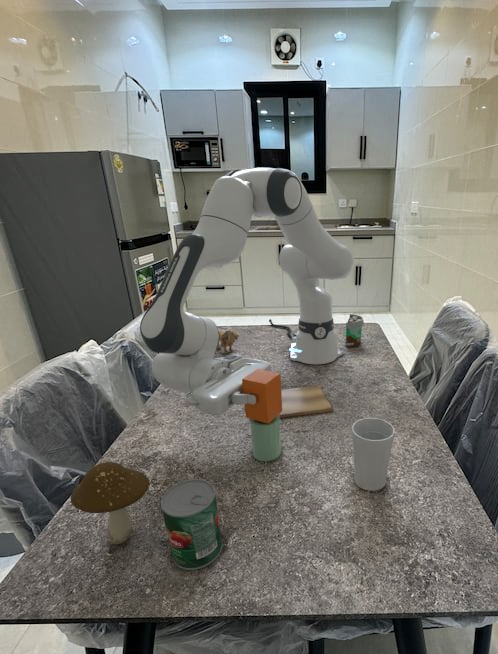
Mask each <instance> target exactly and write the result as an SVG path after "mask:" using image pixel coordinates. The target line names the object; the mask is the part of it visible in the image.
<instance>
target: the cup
mask: <svg viewBox="0 0 498 654" xmlns="http://www.w3.org/2000/svg"><path fill="white" fill-rule="evenodd" d="M395 433H396V429H395V427H394V425H392V424H391V423H390V422H389V421H387V420H384V419H381V418H378V417H365V418H361V419H358V420H356V421H355V422H354V423H352V425H351V436H352V450H353V470H354V472H353V473H354V475H353V476H354V477H353V480H354V483H355V484H356V485H357V486H358V487H359V488H360V489H362V490H365V491H369V492H374V491H379V490H381V489H383V488H385V486H386V484H387V478H388V477H387V476H388V471H389V465H390V459H391V453H392V448H393V444H394V438H395Z"/></svg>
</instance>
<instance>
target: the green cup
mask: <svg viewBox="0 0 498 654" xmlns="http://www.w3.org/2000/svg"><path fill="white" fill-rule="evenodd" d="M280 424H281V423H280V417H279V415H278V416H276V417H275V418H274V419H273V420H272V421H271V422H270V423H269V424H267V423H264V422H260V421H257V420H253V419H249V426H250V438H251V449H252V456H253V458H254V459H255V460H257V461H259V462H272V461H274V460H277V459H278V458H279V457H280V456H281V454H282V443H281V440H282V439H281V425H280Z"/></svg>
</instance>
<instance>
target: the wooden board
mask: <svg viewBox="0 0 498 654" xmlns="http://www.w3.org/2000/svg"><path fill="white" fill-rule="evenodd" d="M281 394H282V412H281V413H280V414H279V419H284V418H292V417H297V416H306V415H313V414H321V413H328V412H333V407H332V406H331V403H330V402H329V400H328V399H327V397H326V394H325V392H323V389H322V388H321V386H320V385H309V386H301V387H292V388H284V389H283V388H282V389H281Z"/></svg>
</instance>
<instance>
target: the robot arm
mask: <svg viewBox="0 0 498 654" xmlns="http://www.w3.org/2000/svg"><path fill="white" fill-rule="evenodd" d="M199 217H200V218H199V221H198V223H197V226H196V227H195V229H194V230H193V232H192V233H191V234H188V235H186V236H185V237H184V238H183V239H182V240H181V241H180V243H179V245H178V246H177V247H176V250H175V252H174V254H173V256H172V258H171V260H170V262H169V265H168V267H167V269H166V272H165V274H164V276H163V278H162V280H161V283H160V285H159V287H158V290H157V291H156V294H155V296H154V298H153V300H152V302H151V304H150V305H149V307H148V308H147V309H146V311H145V312H144V314H143V315H142V318H141V320H140V323H139V324H140V325H139V330H140V331H139V332H140V335H141V338H142V340H143V342H144V344H145V346H146V347H147V348H148V349H149V350H150V351H151V352H154V353H157V354H156V355H155V356H154V357H153V359H152V361H151V373H152V375H153V377H154V379H155V380H156V381H157V382H158V383H159V384H161V386H164V387H166V388H168V389H171V390H174V391H177V392H181V393H185V396H184V402H185V404H187V405H191V406H194V407H195V408H196V409H197V410H199V411H201V412H203V413H206V414H208V415H211V416H219V415H222V414H223V413H224V412H226V411H228V410H229V409H230V408H231V407H233V406H234V405H245V404H247V403H249V404H253V405H254V404H255V403H257V402H258V401H259V399H258V395H257V394H255V393H249V394H244V393H243V383H242V379H243V378H244V377H246V376H248V375H249V374H251V373H252V372H254V371H255V370H257V369H262V370H266V371H271V372H273V370H272V365H271V363H269V362H268V361H266V360H261V359H257V358H253V357H242V355H241V354H238V353H232V354H230V355H225V356H223V357H222V356H221V357H215V355H216V353H217V350H218V349H217V346H218V343H219V344H220V341H219V331H220V330H219V328H218V326H217V324H216V322H214V321H213V320H212V319H210V318H208V317H204V316H202V315H198V314H195V313H191V312H188V311H186V310H185V303H186V302H187V299H188V297H189V294H190V292H191V290H192V288H193V285H194V283H195V280H196V278H197V276H198V275H199V273H200V272H202V270H203V269H206V268H209V267H223V266H227V265H230V264H232V263H234V262H236V261H237V260H238V259H239V258H240V257H241V255H242V254H243V251H244V249H245V245H246V243H247V239H248V235H249V232H250V227H251V222H252V218H253V217H256V218H263V217H265V218H266V217H267V218H268V217H274V219H275V221H276V223H277V226H278V227H279V229H280V231H281V233H282V235H283V237H284V239H285V240H286V242H287V243H288V244H285V245H283V247H282V248H281V250H280V252H279V254H278V255H279V256H278V262H279V266H280V269H281V271H283V273H284V274H286V275H287V276H288V278H289V279H290V280H291V282H292V284H293V286H294V288H295V290H296V293H297V297H298V304H299V305H298V306H299V318H298V330H297V331H296V332H293V333H292V335H291V331H292V330H291V328H290V327H289V326H287V325H279V324H274V323H273V321H272V319H271V318H269V319H268V323H270V325H271V326H272V327H276V328H282V329H286V330H287V335H288V337H289V339H291V344H290V348H289V349H288V350H289V352H290V357H289V359H290V361H294V362H299V363H303V364H307V365H326V364H329V363H332V362H334V361H335V360H337V358H339V357H341V356H342V355H343V352H342V351H341V350H340V349H339V340H338V337H339V336H338V333H337V332H336V331H335V330H334V328H335V327H334V326H335V321H334V318H333V297H332V294H331V293H330V292H329V291H328V290H327V289H326V288H324V286H323V285H322V284H321V282H320V280H330V281H333V280H334V281H335V280H341V279H346V278H347V277H348V276H349V275H350V274H351V273H352V271H353V269H354V266H355V258H354V254H353V252H352V251H351V248H350V247H348V246H346V245H344V244H342V243H340V241H338V240H337V239H335V238H334V237H333V236H332V235H331V234H330V233H329V232H328V231H327V230H326V229H325V227H324V226H323V225H322V223H321V221H320V219H319V218H318V216H317V213H316V211H315V208H314V206H313V202H312V201H311V199H310V195H309V194H308V192H307V189H306V188H305V186H304V184H303V183H302V181H301V180H300V178H299V177H298V175H297V174H296V173H294V172H293V171H292V170H289V169H286V168H282V167H277V168H273V167H255V168H247V169H234V170H231V171H229V172H227V173H226V174H225V175H223V176H221V177H218V178H217V179H216V180H215V181H214V183H213V185H212V187H211V189H210V191H209V193H208V195H207V197H206V200H205V202H204V205H203V208H202V211H201V213H200V216H199Z"/></svg>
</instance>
